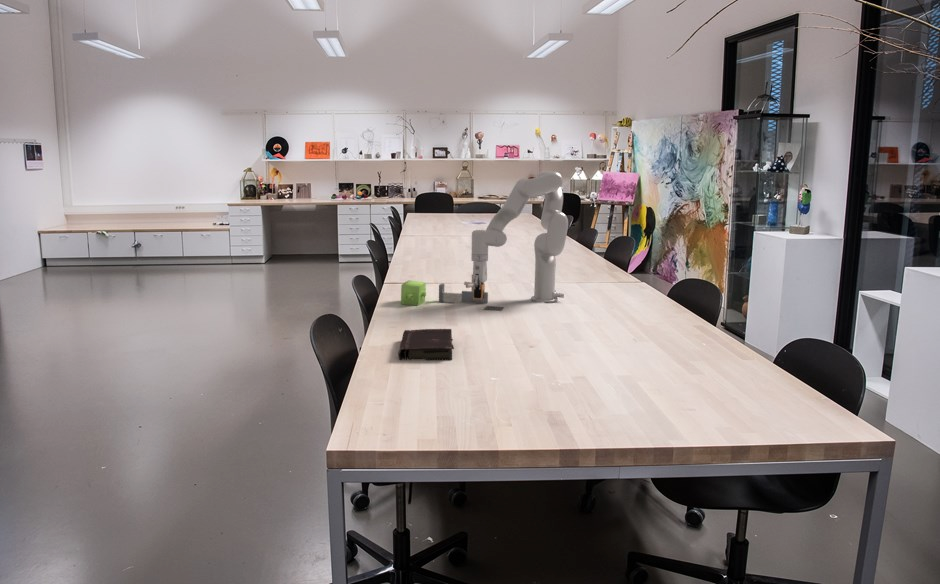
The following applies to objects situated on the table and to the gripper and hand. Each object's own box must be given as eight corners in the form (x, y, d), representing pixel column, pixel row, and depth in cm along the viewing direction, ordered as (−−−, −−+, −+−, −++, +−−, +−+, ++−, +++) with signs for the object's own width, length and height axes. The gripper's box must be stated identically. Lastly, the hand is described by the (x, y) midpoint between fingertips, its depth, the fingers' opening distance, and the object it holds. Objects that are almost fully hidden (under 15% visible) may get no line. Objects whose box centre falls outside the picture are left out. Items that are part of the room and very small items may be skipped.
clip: (484, 297, 325) (484, 283, 324) (481, 299, 320) (482, 286, 319) (476, 296, 326) (476, 283, 325) (473, 299, 321) (473, 285, 320)
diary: (398, 362, 234) (398, 347, 233) (402, 342, 258) (402, 329, 258) (454, 361, 235) (454, 347, 234) (453, 341, 259) (453, 328, 258)
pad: (504, 307, 315) (504, 307, 315) (501, 311, 307) (501, 310, 307) (486, 306, 317) (486, 305, 317) (483, 310, 309) (483, 309, 309)
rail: (488, 302, 325) (488, 285, 324) (486, 305, 320) (486, 287, 319) (441, 300, 330) (441, 283, 329) (438, 302, 325) (438, 285, 324)
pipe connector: (475, 297, 336) (475, 277, 335) (458, 295, 342) (459, 274, 340) (487, 294, 344) (487, 274, 342) (471, 292, 350) (471, 272, 348)
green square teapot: (418, 309, 313) (419, 288, 311) (397, 306, 315) (398, 286, 313) (430, 300, 330) (431, 280, 328) (410, 298, 332) (410, 278, 330)
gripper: (483, 260, 311) (483, 300, 314) (491, 255, 327) (490, 293, 330) (467, 259, 312) (466, 299, 316) (475, 254, 329) (475, 292, 332)
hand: (479, 296), depth 323 cm, fingers closed on clip, 5 cm apart
